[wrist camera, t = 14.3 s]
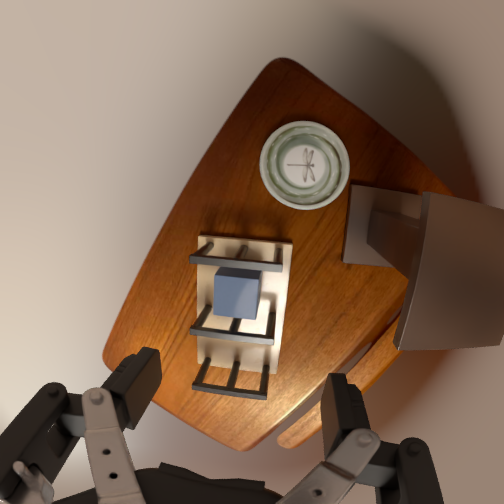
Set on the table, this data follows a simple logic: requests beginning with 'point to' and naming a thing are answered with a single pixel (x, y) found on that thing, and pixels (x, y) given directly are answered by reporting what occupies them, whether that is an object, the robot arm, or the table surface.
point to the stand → (434, 263)
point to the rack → (237, 329)
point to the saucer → (304, 165)
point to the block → (237, 292)
